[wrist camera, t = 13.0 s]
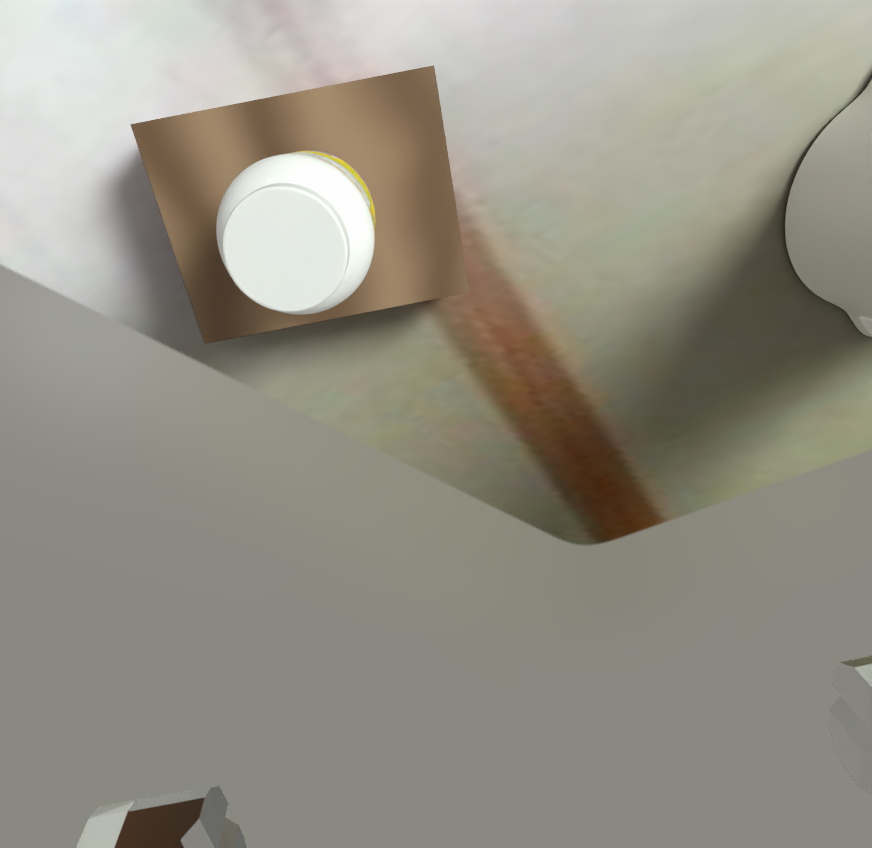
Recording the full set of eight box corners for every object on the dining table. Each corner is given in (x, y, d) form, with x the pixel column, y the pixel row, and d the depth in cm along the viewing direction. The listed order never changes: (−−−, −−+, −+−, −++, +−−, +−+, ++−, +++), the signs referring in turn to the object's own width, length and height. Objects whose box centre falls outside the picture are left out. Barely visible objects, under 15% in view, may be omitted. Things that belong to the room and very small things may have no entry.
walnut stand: (427, 74, 38) (433, 65, 34) (459, 275, 43) (469, 292, 38) (160, 126, 38) (130, 124, 34) (223, 321, 43) (204, 343, 38)
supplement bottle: (318, 298, 38) (288, 371, 26) (230, 211, 36) (154, 248, 24) (401, 217, 36) (409, 256, 25) (314, 121, 34) (277, 114, 22)
